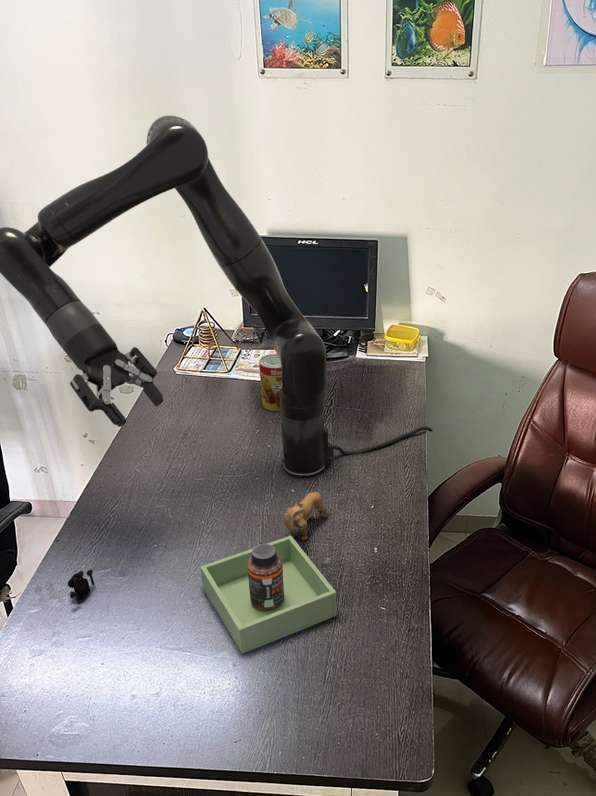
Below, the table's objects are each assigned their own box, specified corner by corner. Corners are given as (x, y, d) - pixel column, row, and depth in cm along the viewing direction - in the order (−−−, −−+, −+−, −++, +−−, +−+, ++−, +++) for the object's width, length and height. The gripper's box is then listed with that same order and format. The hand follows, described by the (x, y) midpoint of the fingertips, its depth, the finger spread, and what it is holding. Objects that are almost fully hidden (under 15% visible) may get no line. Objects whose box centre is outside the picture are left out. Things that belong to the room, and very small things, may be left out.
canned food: (281, 414, 185) (278, 370, 178) (256, 405, 188) (252, 362, 181) (299, 401, 191) (297, 358, 183) (274, 393, 194) (272, 350, 187)
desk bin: (292, 558, 141) (290, 535, 138) (336, 615, 129) (336, 592, 126) (203, 589, 133) (200, 566, 130) (242, 654, 121) (239, 630, 118)
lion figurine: (305, 554, 142) (303, 516, 137) (279, 548, 143) (276, 511, 138) (331, 510, 153) (330, 474, 148) (307, 505, 155) (306, 469, 149)
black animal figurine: (77, 610, 129) (71, 589, 126) (64, 608, 129) (57, 586, 126) (98, 583, 134) (92, 562, 131) (85, 581, 135) (79, 560, 132)
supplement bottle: (278, 614, 128) (274, 565, 121) (245, 609, 129) (240, 559, 122) (288, 591, 133) (285, 542, 126) (257, 586, 134) (252, 537, 127)
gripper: (53, 339, 117) (119, 422, 119) (121, 310, 127) (180, 387, 129) (39, 361, 122) (102, 441, 125) (105, 332, 132) (162, 406, 134)
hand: (142, 413), depth 127 cm, fingers open, 8 cm apart
